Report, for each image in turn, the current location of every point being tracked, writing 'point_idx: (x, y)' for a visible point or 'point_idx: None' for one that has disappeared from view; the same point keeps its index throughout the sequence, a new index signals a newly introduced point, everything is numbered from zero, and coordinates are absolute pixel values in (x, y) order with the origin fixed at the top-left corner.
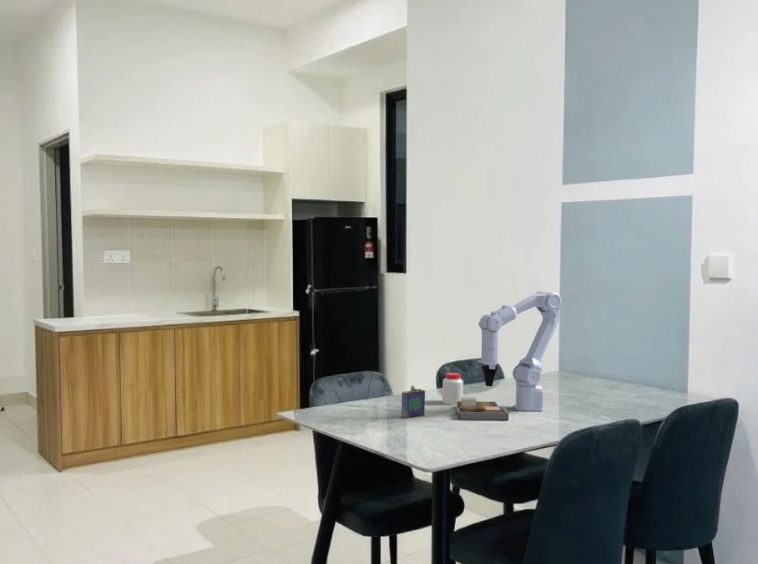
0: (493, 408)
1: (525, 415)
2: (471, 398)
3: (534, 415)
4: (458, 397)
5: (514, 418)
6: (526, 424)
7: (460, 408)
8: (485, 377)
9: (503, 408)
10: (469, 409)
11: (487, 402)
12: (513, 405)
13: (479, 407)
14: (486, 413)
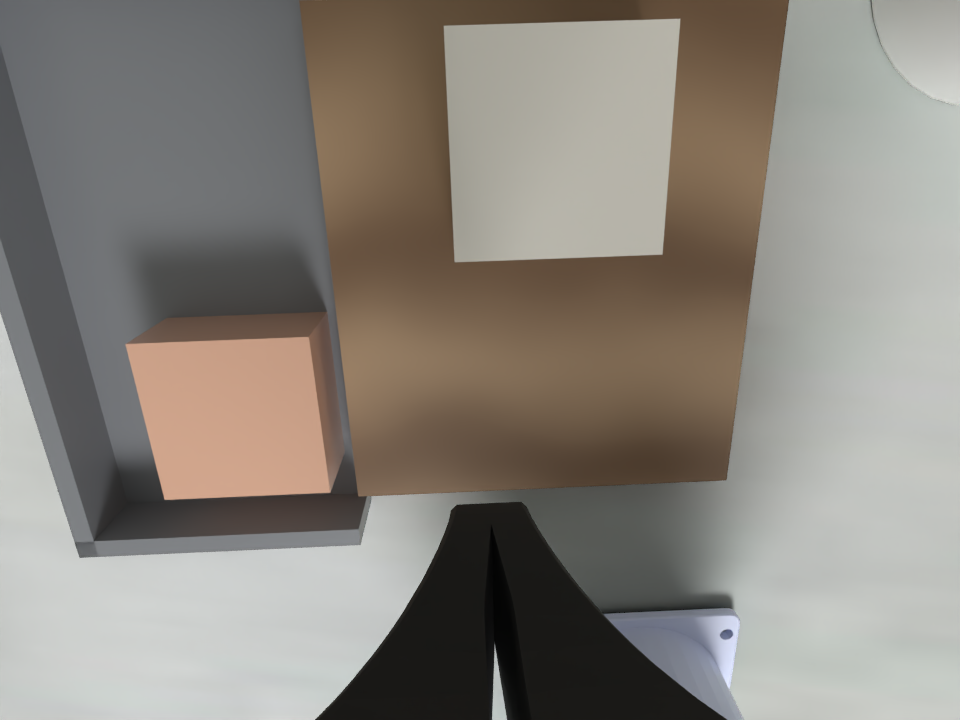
0: (215, 434)
1: (366, 655)
2: (521, 192)
3: None
4: (947, 15)
5: (225, 566)
6: (18, 628)
7: (301, 1)
8: (399, 618)
9: (306, 532)
10: (317, 140)
11: (688, 398)
12: (711, 613)
13: (393, 280)
14: (14, 332)
